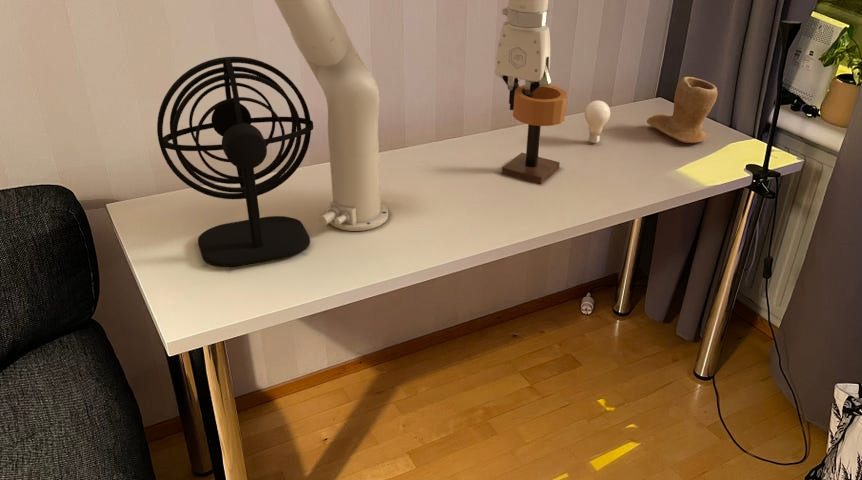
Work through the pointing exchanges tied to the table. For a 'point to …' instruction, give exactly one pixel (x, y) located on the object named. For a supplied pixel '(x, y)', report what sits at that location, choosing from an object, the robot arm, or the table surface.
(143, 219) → the table surface
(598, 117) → the lightbulb
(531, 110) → the tape roll
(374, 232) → the table surface
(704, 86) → the brown boot
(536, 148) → the hook peg
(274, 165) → the desk fan
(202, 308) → the table surface
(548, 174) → the hook base
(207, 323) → the table surface
